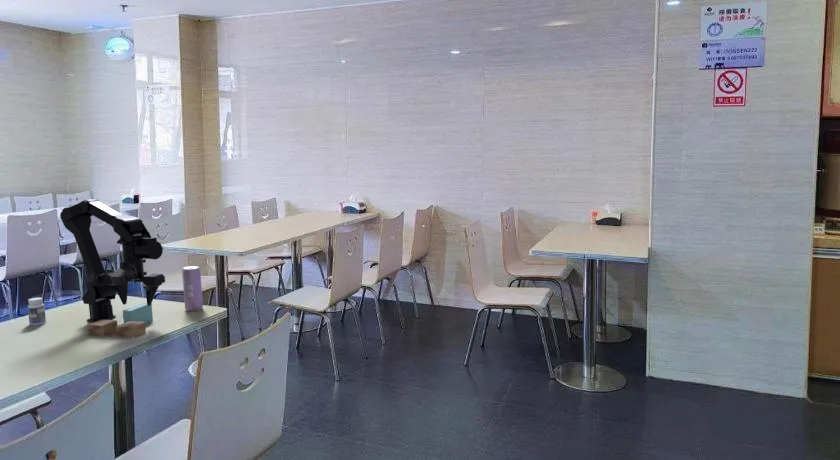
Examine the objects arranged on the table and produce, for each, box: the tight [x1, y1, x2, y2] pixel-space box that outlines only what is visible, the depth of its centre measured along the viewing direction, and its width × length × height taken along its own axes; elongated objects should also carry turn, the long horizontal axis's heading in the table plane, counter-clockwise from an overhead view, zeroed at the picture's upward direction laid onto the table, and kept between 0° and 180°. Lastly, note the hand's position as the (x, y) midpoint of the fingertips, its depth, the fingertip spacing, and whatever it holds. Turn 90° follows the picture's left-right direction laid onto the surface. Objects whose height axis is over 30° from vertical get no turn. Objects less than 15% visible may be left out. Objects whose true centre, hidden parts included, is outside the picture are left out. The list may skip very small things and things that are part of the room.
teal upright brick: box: [122, 302, 154, 325], centre depth 205 cm, size 3×10×6 cm, turn 166°
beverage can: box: [181, 265, 204, 312], centre depth 222 cm, size 6×6×15 cm
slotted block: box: [86, 319, 146, 339], centre depth 196 cm, size 16×6×3 cm, turn 76°
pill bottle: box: [27, 297, 47, 326], centre depth 209 cm, size 5×5×8 cm
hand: (136, 305), depth 205 cm, fingers open, 9 cm apart
